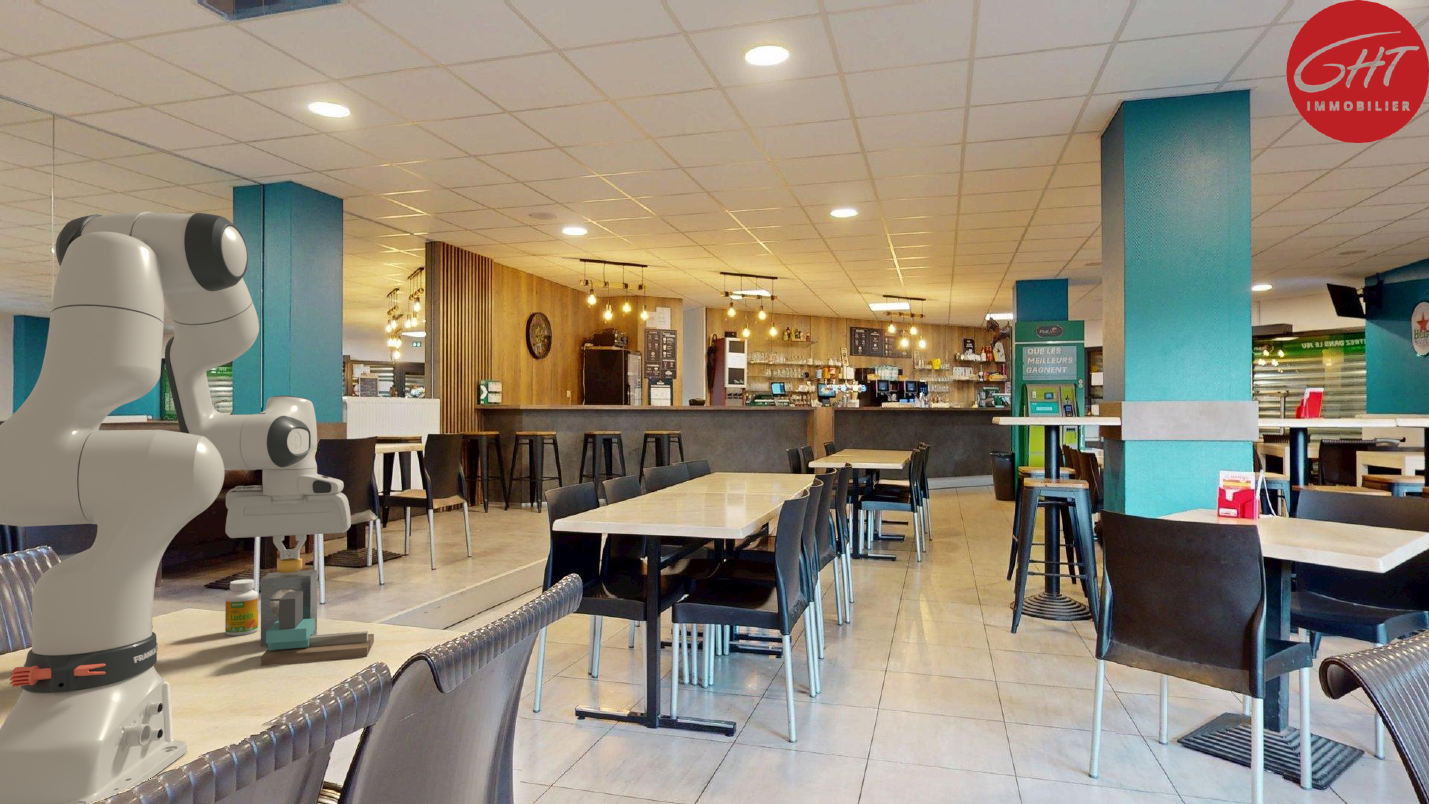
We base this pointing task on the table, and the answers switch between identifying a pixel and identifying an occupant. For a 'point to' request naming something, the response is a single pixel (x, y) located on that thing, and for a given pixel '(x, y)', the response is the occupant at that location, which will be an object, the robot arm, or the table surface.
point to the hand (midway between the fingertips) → (289, 559)
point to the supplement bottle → (241, 608)
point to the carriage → (290, 624)
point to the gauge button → (289, 566)
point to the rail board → (323, 649)
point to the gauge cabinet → (277, 587)
